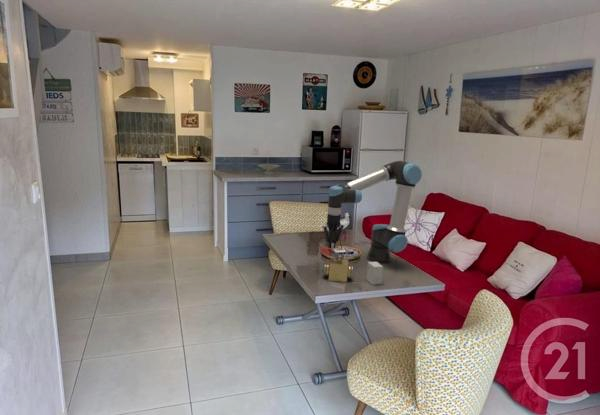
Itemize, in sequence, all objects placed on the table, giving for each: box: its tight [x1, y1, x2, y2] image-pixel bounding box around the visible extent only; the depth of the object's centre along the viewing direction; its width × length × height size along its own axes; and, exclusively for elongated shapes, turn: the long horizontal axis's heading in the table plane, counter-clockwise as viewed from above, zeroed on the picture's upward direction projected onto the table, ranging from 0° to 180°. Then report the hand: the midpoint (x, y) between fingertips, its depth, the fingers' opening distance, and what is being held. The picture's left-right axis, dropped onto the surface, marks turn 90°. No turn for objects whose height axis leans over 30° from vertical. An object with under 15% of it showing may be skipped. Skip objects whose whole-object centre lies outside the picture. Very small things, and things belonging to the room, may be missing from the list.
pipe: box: [323, 262, 354, 280], centre depth 231 cm, size 16×8×8 cm, turn 84°
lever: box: [320, 246, 345, 260], centre depth 234 cm, size 17×4×3 cm, turn 36°
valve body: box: [325, 257, 352, 283], centre depth 231 cm, size 14×9×11 cm, turn 84°
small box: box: [365, 261, 384, 286], centre depth 229 cm, size 8×6×10 cm
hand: (331, 253), depth 239 cm, fingers closed
